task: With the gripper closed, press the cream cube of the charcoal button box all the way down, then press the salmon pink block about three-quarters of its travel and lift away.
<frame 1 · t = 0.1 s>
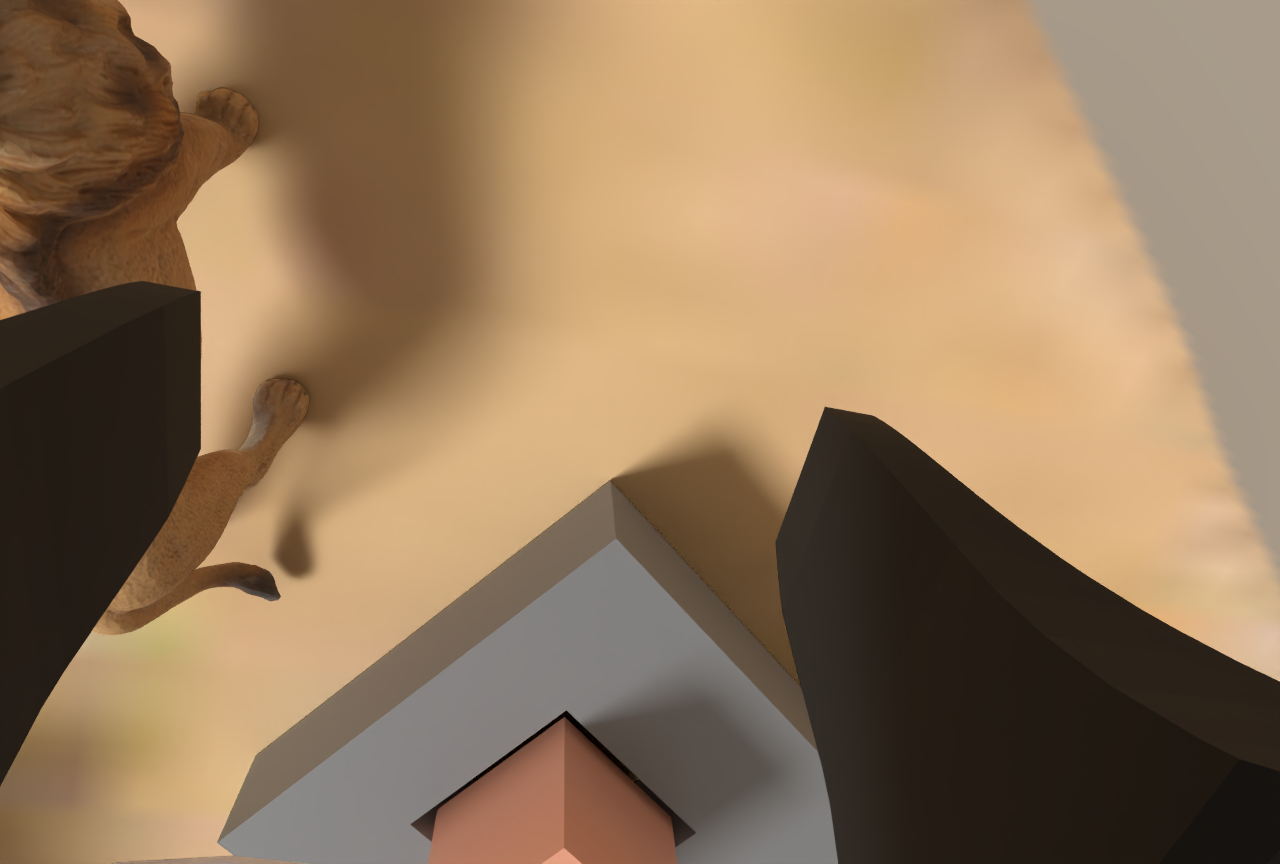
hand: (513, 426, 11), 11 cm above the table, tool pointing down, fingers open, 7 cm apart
button housing: (672, 852, 27), on the table
lion figurine: (172, 270, 21), on the table
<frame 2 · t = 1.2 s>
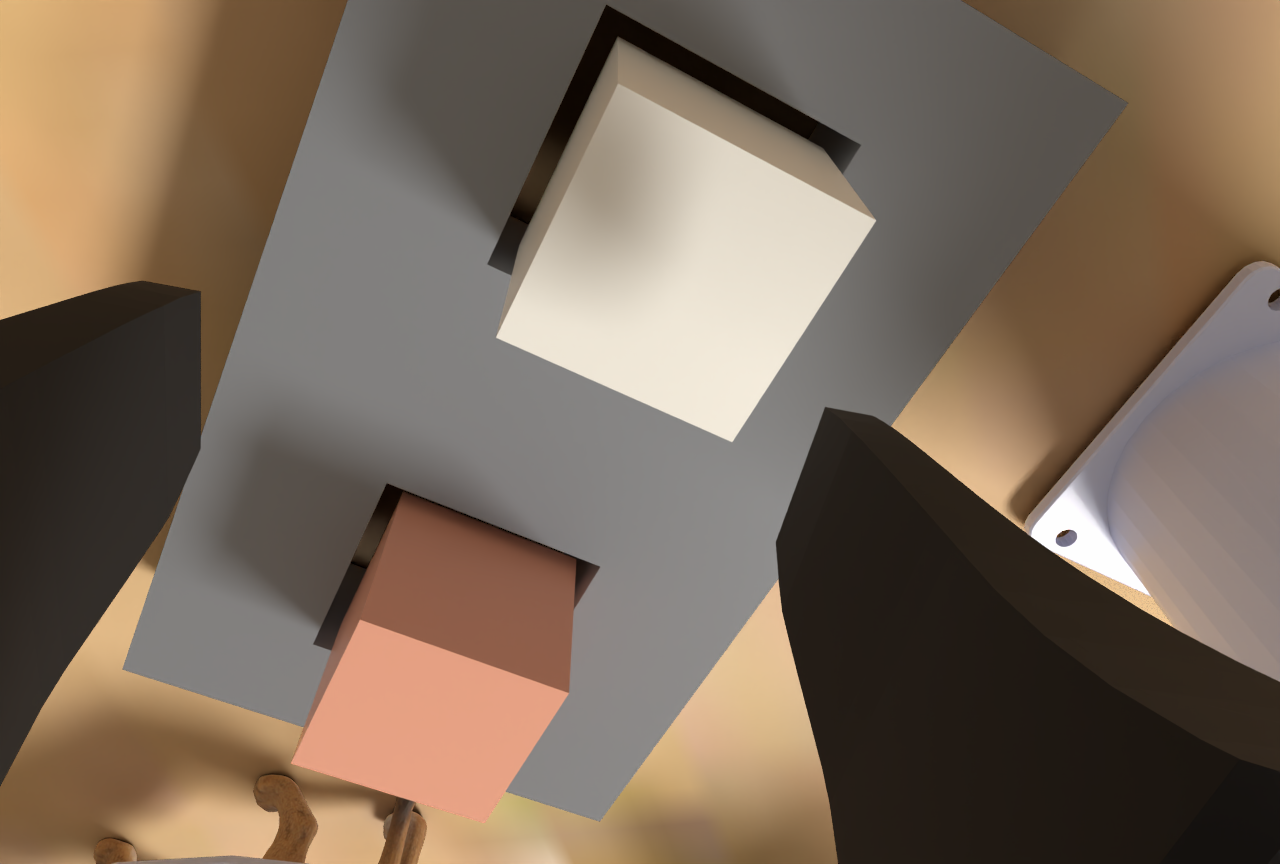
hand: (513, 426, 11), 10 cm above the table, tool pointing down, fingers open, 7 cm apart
salmon pink block: (443, 654, 20), point 5 cm above the table, slide at 0.0 cm
button housing: (556, 361, 22), on the table
cream cube: (673, 234, 16), point 4 cm above the table, slide at 0.0 cm
lion figurine: (239, 847, 30), on the table
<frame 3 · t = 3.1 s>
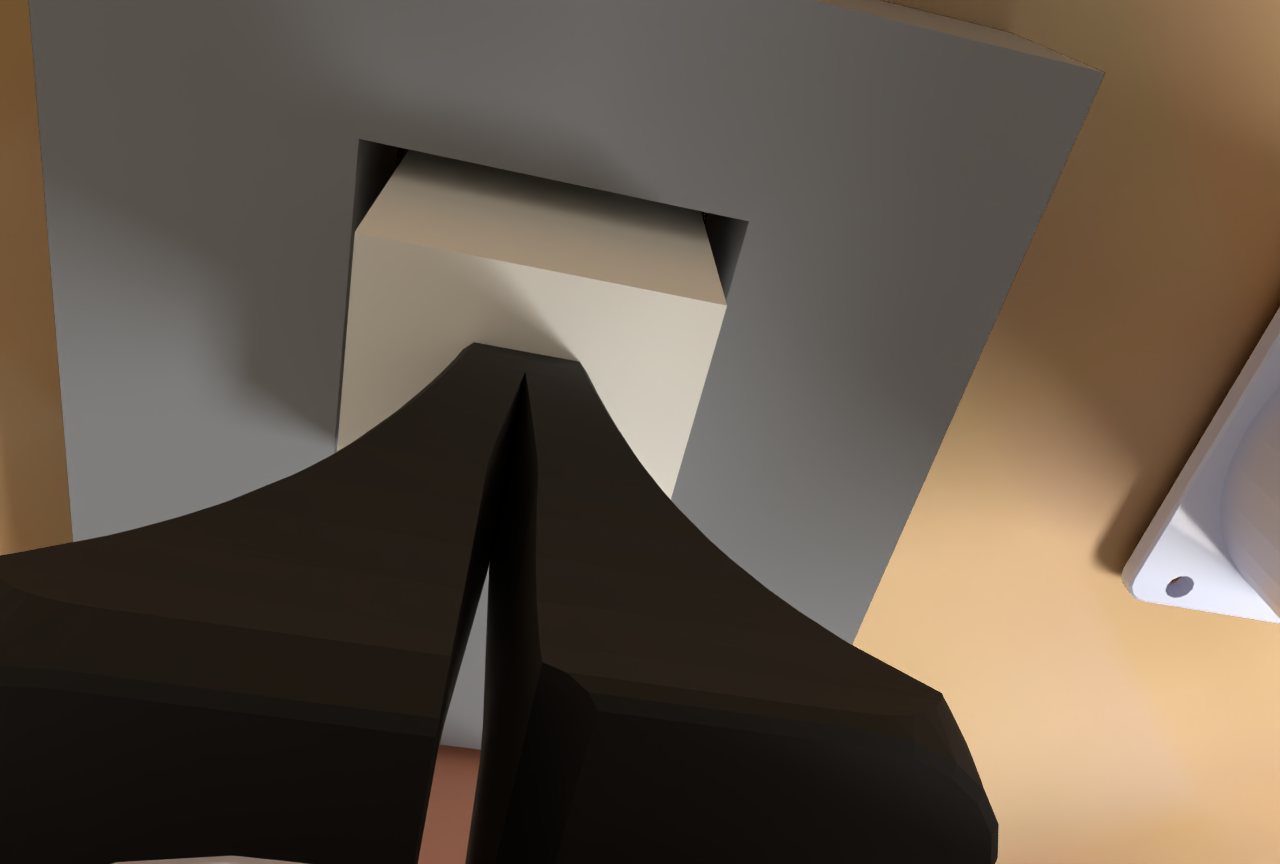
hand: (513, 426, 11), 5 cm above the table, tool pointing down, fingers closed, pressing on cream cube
button housing: (493, 522, 18), on the table
cream cube: (527, 353, 13), point 3 cm above the table, slide at 1.6 cm, touching gripper
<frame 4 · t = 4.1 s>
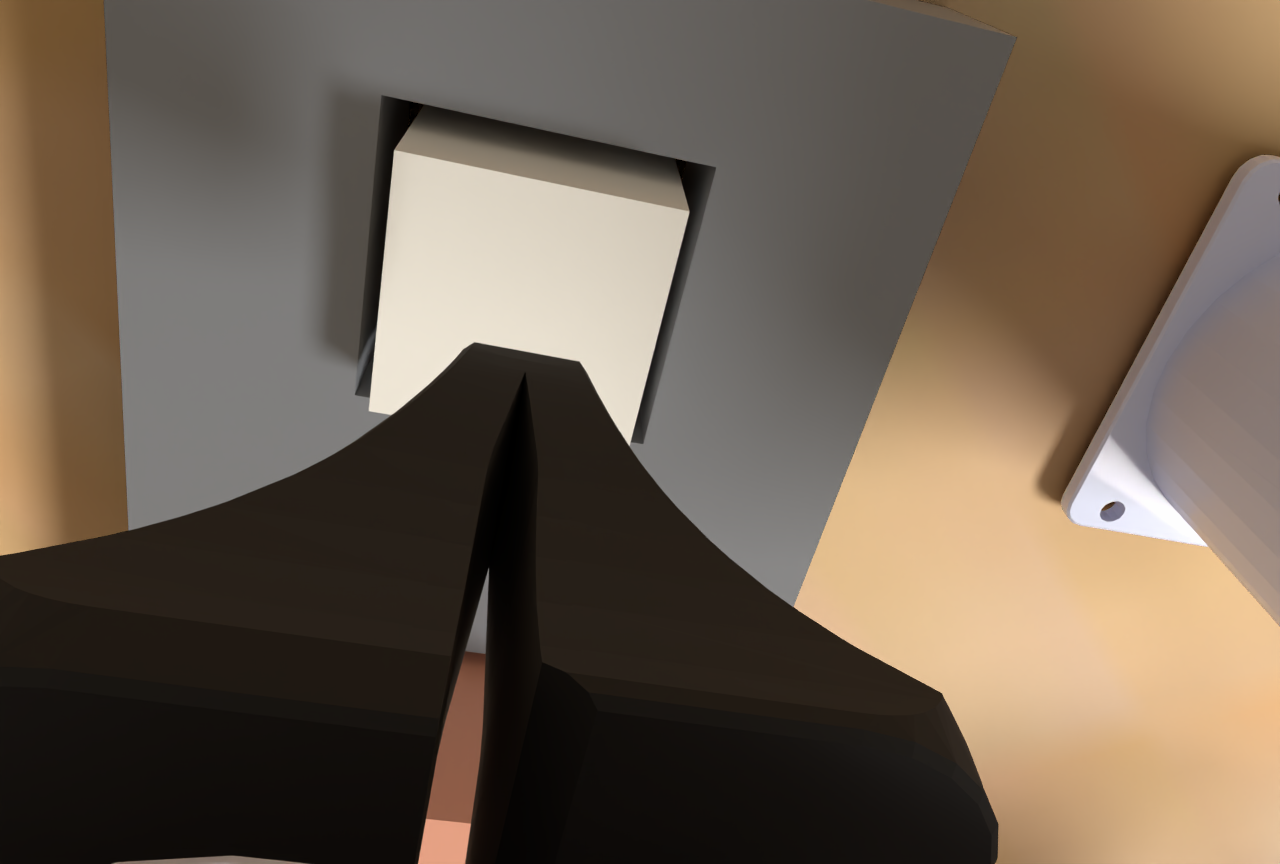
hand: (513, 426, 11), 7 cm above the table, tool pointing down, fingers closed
salmon pink block: (435, 798, 19), point 4 cm above the table, slide at 0.0 cm
button housing: (494, 455, 20), on the table
cream cube: (528, 265, 16), point 2 cm above the table, slide at 2.4 cm
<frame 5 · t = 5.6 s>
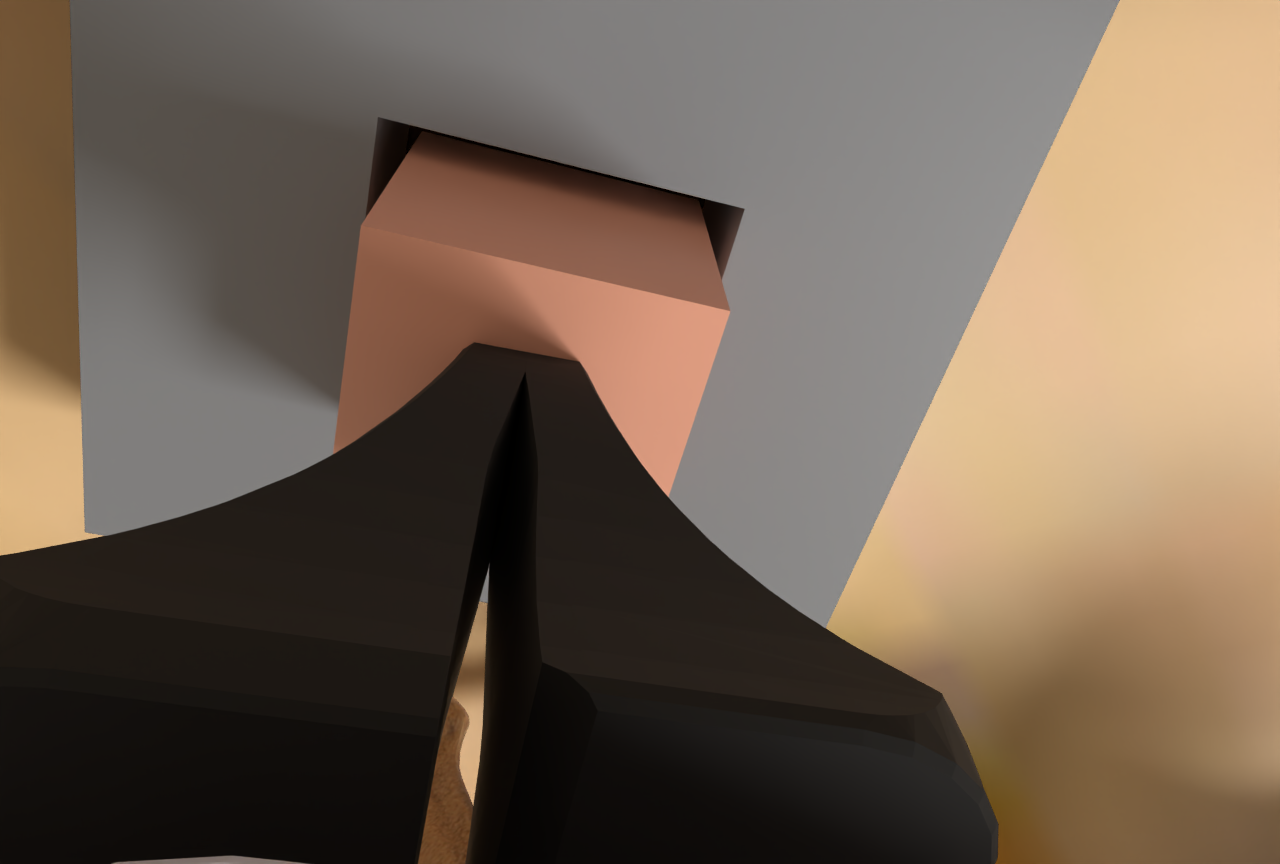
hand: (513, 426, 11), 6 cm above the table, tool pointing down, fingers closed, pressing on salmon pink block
salmon pink block: (526, 352, 13), point 4 cm above the table, slide at 0.8 cm, touching gripper
lion figurine: (382, 779, 23), on the table
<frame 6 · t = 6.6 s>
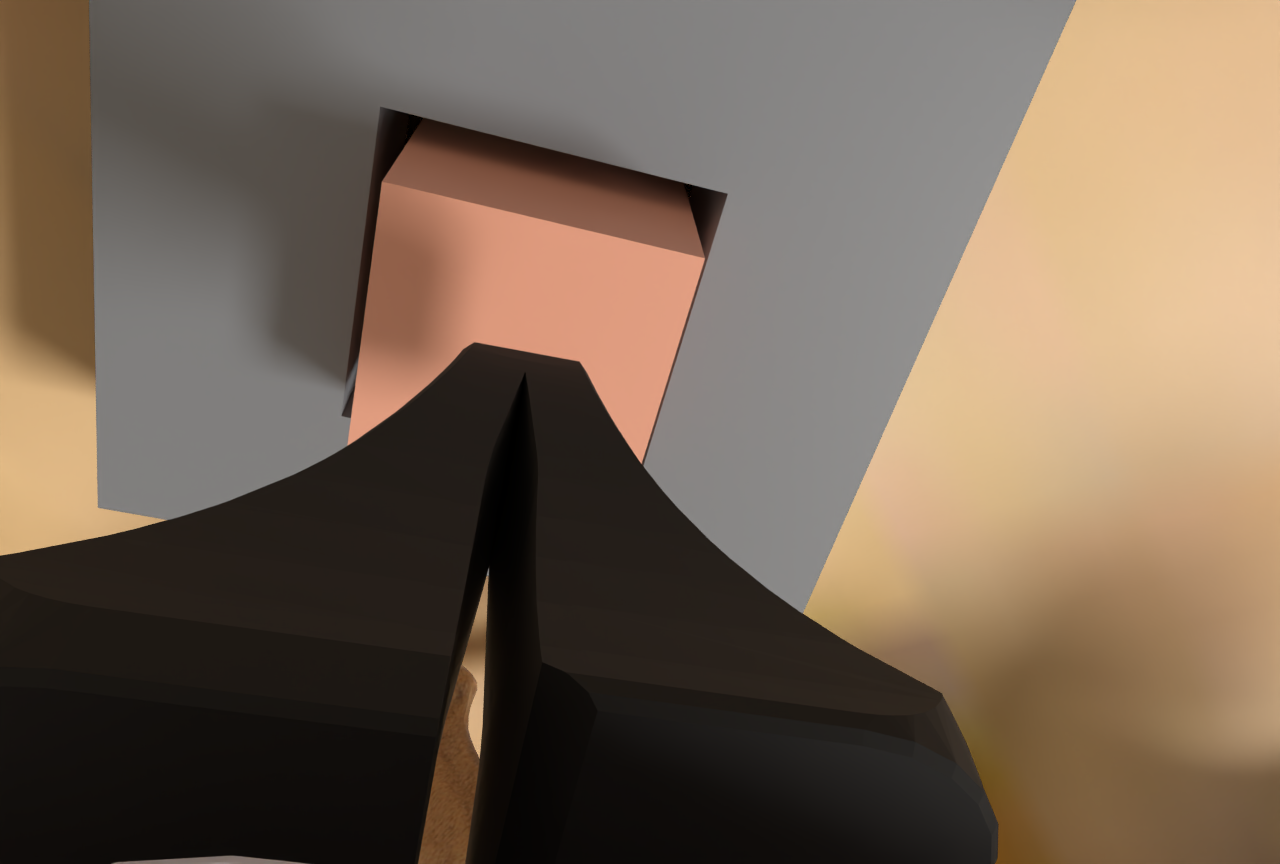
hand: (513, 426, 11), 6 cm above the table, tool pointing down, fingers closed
salmon pink block: (525, 304, 15), point 3 cm above the table, slide at 1.7 cm
lion figurine: (391, 749, 23), on the table
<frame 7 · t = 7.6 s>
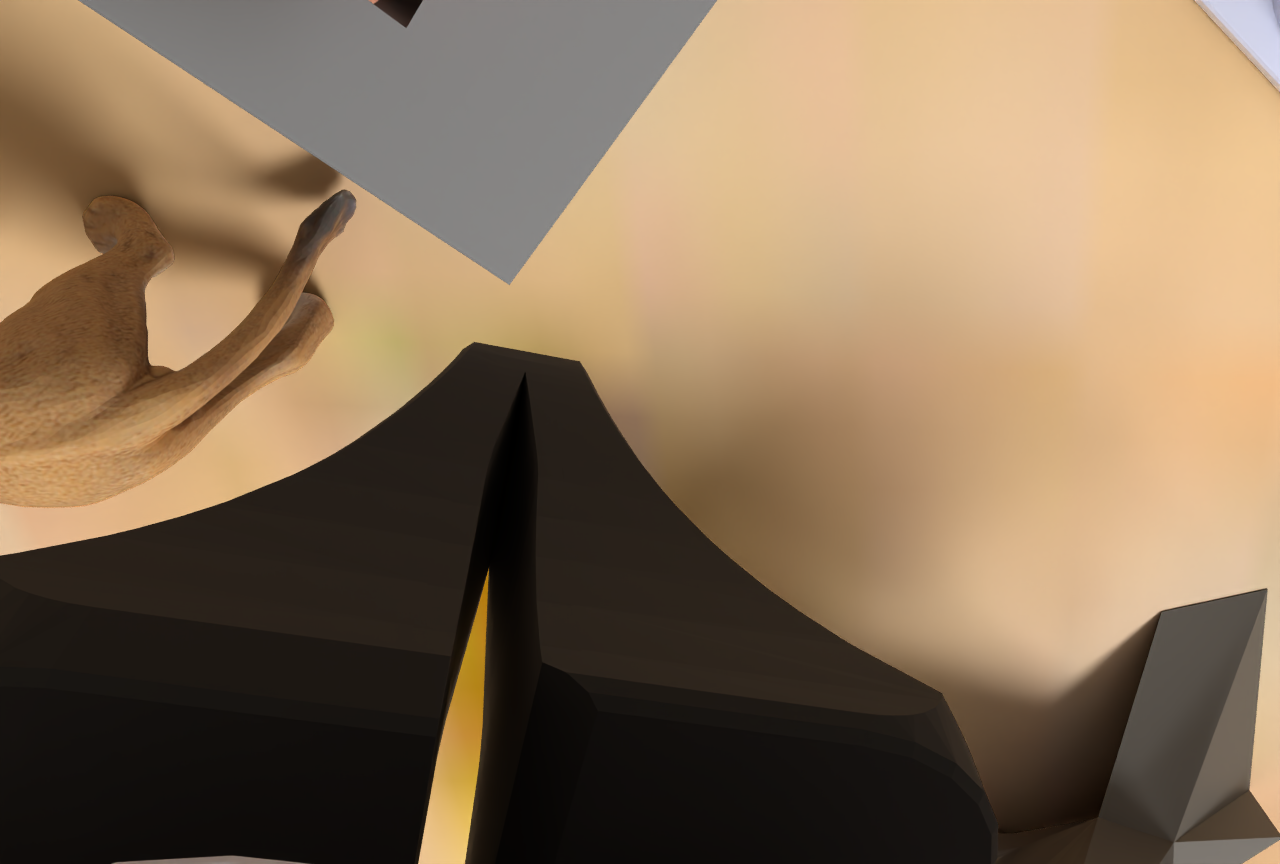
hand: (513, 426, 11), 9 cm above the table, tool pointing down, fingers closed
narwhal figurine: (992, 812, 30), on the table
lion figurine: (54, 343, 21), on the table
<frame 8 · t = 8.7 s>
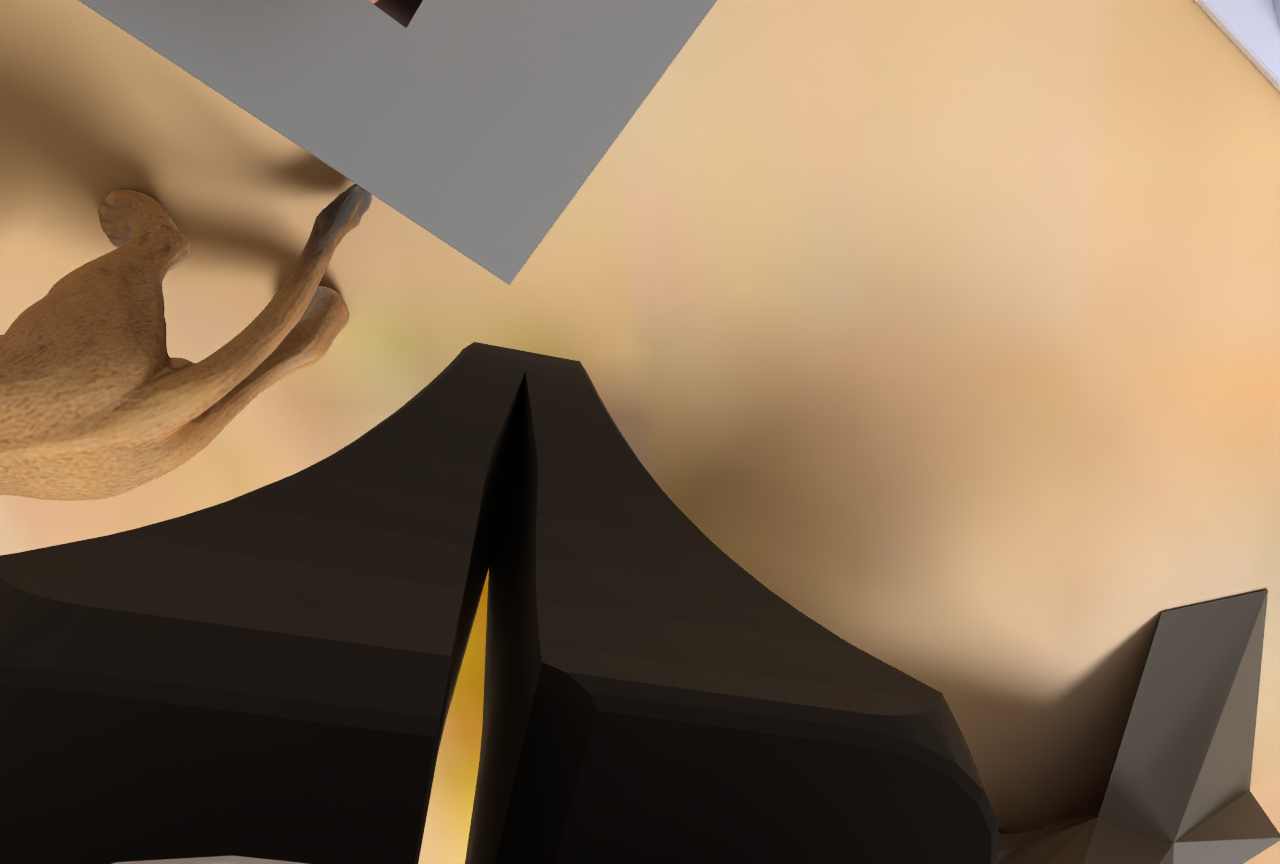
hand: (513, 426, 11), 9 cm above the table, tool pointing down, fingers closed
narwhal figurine: (992, 812, 30), on the table
lion figurine: (69, 339, 21), on the table
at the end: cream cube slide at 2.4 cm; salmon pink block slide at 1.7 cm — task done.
